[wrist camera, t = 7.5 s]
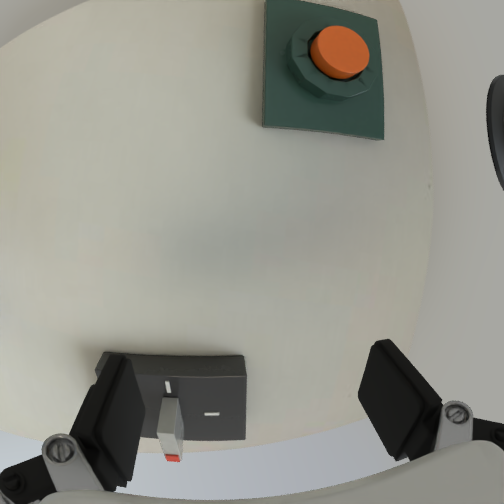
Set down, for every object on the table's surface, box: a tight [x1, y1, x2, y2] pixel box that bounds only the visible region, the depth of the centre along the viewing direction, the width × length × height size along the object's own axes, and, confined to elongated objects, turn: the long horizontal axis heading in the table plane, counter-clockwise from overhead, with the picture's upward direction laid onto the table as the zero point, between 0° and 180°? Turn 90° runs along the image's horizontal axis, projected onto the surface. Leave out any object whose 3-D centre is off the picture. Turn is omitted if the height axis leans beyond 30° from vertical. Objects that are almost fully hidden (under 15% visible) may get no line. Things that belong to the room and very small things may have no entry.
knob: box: [157, 397, 184, 462], centre depth 22 cm, size 5×2×5 cm, turn 179°
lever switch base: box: [95, 352, 247, 441], centre depth 25 cm, size 14×10×3 cm
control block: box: [262, 0, 384, 140], centre depth 18 cm, size 10×12×3 cm
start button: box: [310, 26, 369, 79], centre depth 16 cm, size 4×4×2 cm
